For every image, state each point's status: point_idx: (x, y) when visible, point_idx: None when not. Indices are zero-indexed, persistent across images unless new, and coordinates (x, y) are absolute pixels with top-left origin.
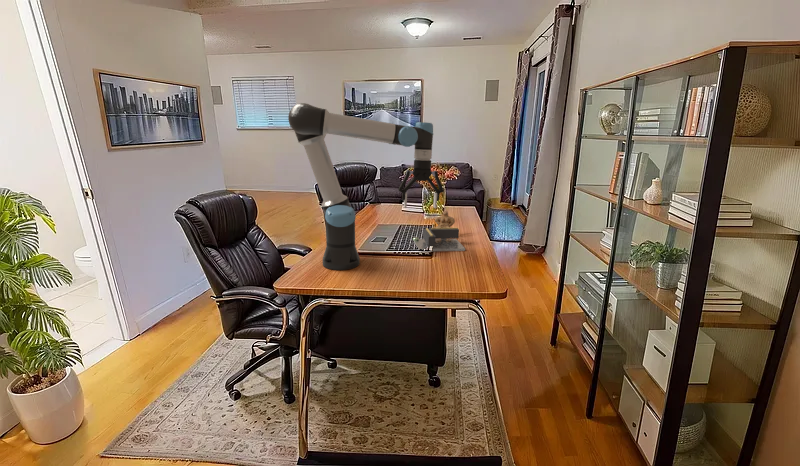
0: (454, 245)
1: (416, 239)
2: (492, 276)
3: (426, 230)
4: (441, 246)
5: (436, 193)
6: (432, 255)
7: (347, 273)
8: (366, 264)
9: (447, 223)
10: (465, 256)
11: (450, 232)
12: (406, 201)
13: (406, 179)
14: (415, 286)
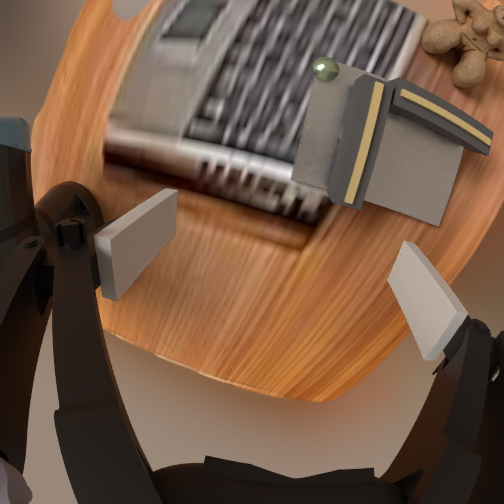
0: (429, 186)
1: (324, 79)
2: (361, 370)
3: (368, 105)
4: (385, 179)
5: (445, 344)
6: (319, 227)
7: None
8: None
9: (487, 46)
10: None
11: (458, 139)
12: (151, 257)
13: (17, 410)
14: (200, 362)
